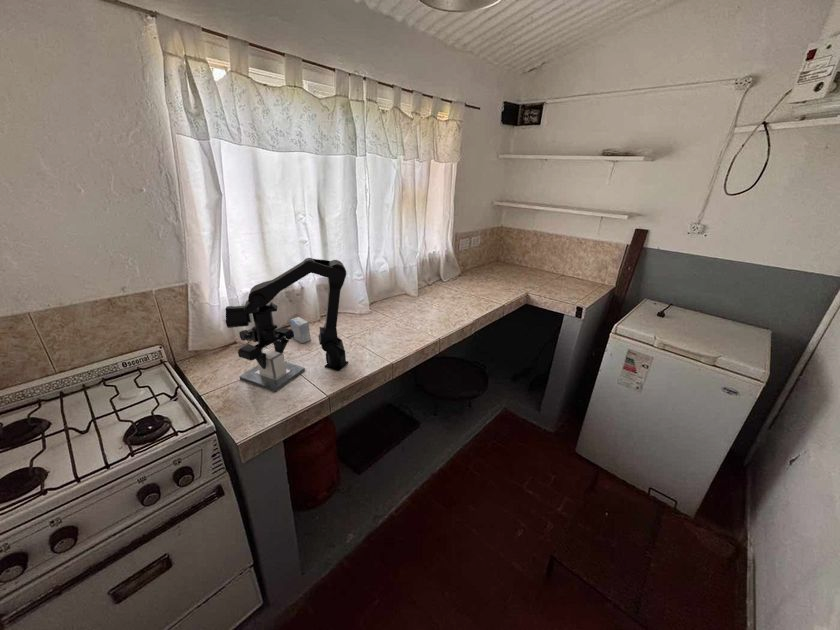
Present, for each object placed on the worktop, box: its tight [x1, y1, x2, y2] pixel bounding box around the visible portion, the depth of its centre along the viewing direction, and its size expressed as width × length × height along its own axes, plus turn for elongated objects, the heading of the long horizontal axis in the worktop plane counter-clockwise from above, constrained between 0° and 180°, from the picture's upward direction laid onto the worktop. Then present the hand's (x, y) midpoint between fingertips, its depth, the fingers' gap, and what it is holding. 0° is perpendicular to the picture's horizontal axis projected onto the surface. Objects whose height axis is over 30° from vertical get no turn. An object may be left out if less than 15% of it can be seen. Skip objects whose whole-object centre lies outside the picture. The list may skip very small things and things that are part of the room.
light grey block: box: [256, 348, 286, 378], centre depth 113 cm, size 5×8×7 cm, turn 66°
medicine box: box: [289, 316, 311, 344], centre depth 138 cm, size 8×4×9 cm, turn 48°
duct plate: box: [239, 361, 306, 393], centre depth 115 cm, size 16×14×1 cm
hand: (271, 364), depth 113 cm, fingers open, 6 cm apart
